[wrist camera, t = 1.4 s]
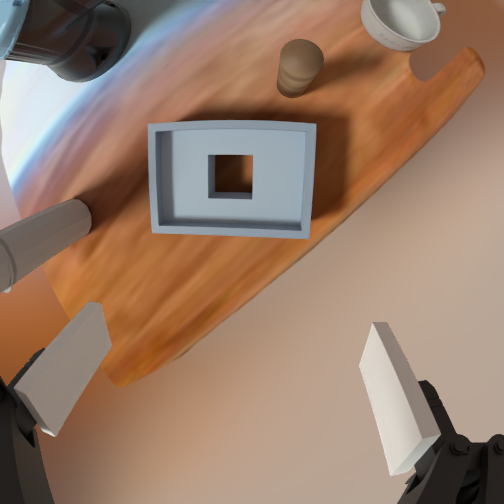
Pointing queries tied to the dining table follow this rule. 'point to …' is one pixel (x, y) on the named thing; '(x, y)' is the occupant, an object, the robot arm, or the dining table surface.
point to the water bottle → (40, 239)
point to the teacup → (402, 22)
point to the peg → (298, 67)
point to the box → (231, 203)
